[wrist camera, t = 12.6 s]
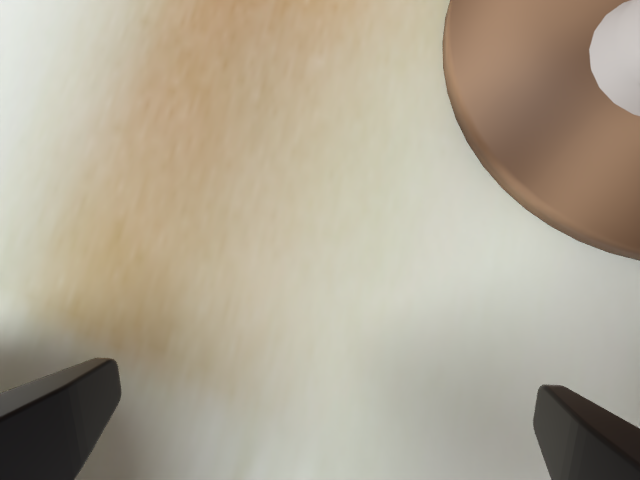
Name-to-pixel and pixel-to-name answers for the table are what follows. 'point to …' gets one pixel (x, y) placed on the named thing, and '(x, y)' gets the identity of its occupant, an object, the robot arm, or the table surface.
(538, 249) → the table surface
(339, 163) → the table surface
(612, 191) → the serving board
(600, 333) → the table surface
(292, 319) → the table surface
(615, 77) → the chalice
